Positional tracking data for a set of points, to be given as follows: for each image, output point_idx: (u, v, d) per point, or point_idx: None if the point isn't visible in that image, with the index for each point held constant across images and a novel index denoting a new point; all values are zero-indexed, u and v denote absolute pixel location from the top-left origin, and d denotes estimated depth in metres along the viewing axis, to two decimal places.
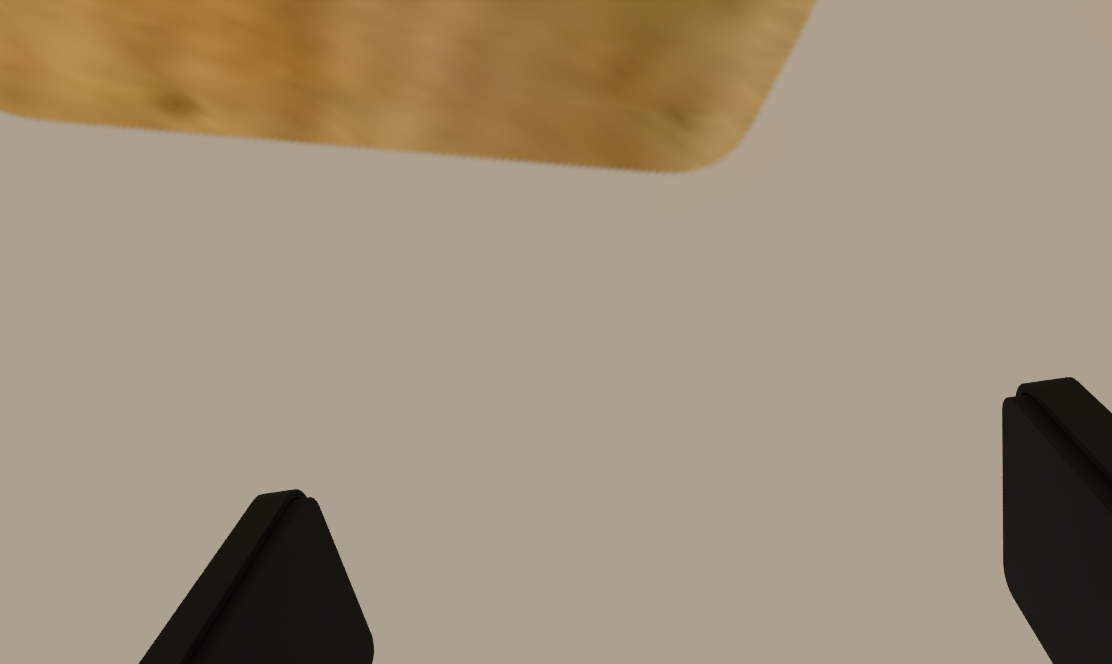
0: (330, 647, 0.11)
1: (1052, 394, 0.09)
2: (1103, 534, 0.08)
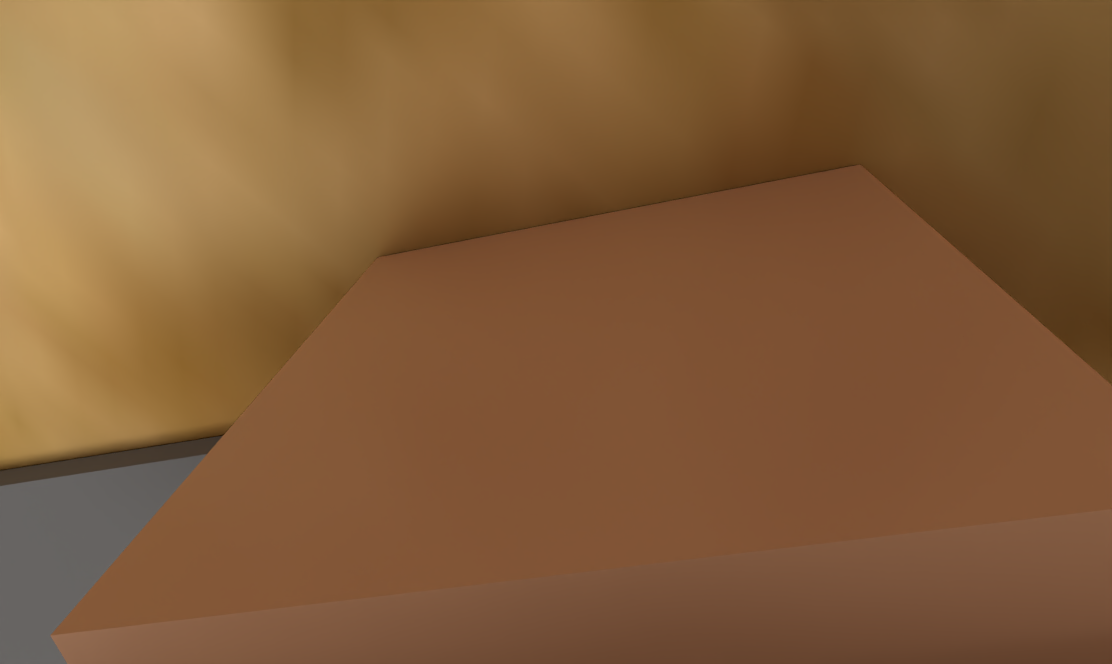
0: None
1: None
2: None
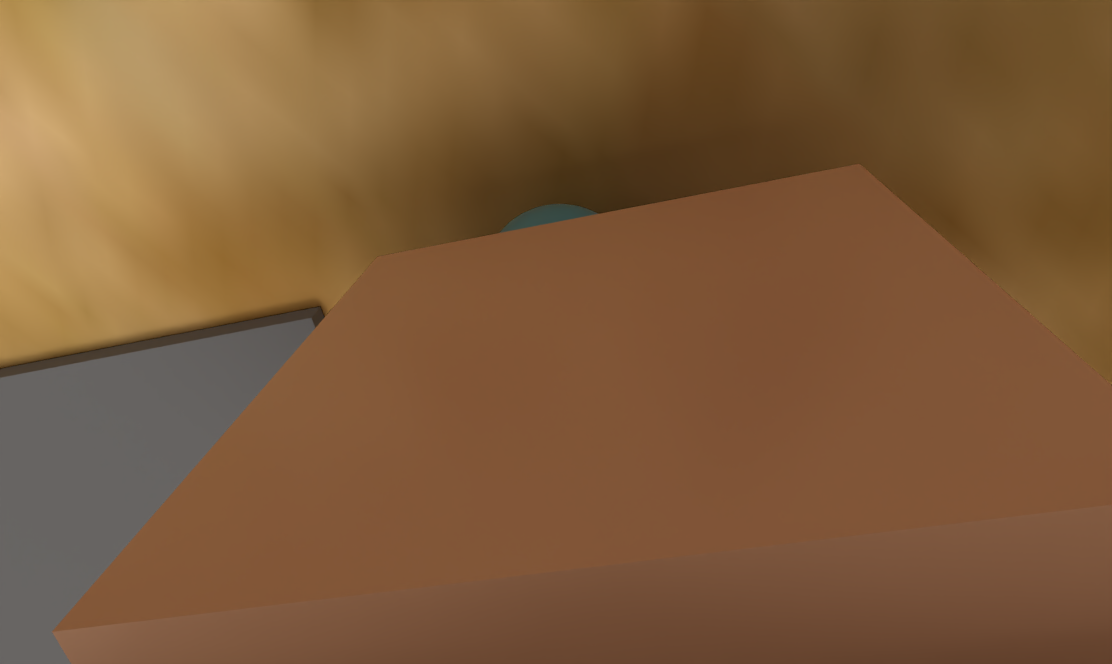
0: None
1: None
2: None
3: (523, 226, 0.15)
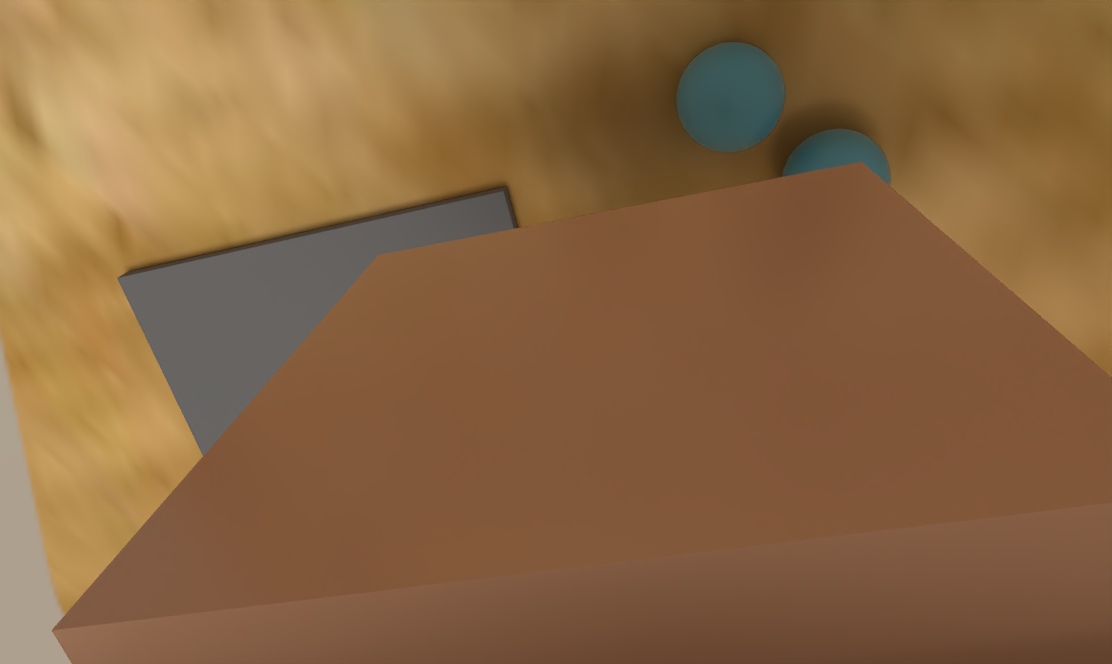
0: None
1: None
2: None
3: None
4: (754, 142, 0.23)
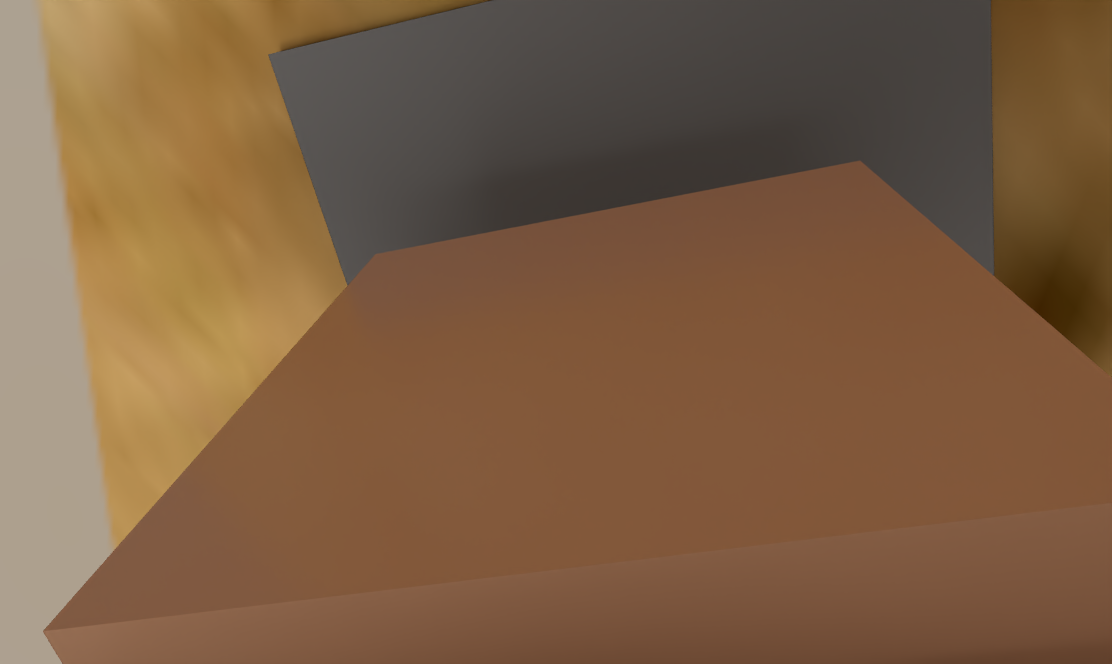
0: None
1: None
2: None
3: None
4: None
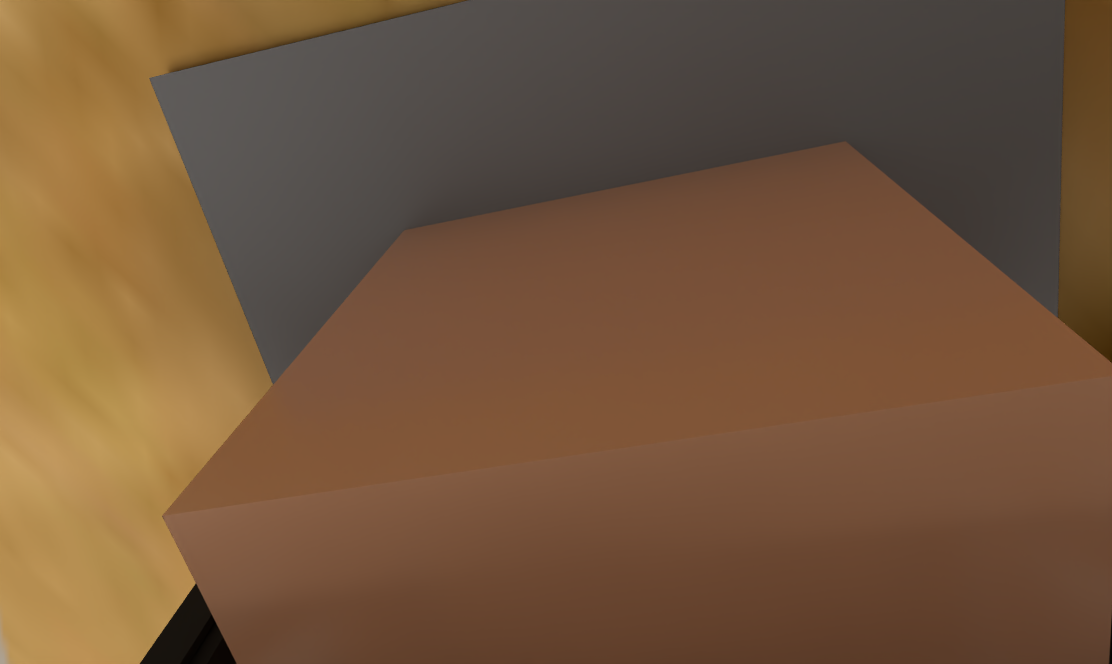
0: None
1: None
2: None
3: None
4: None
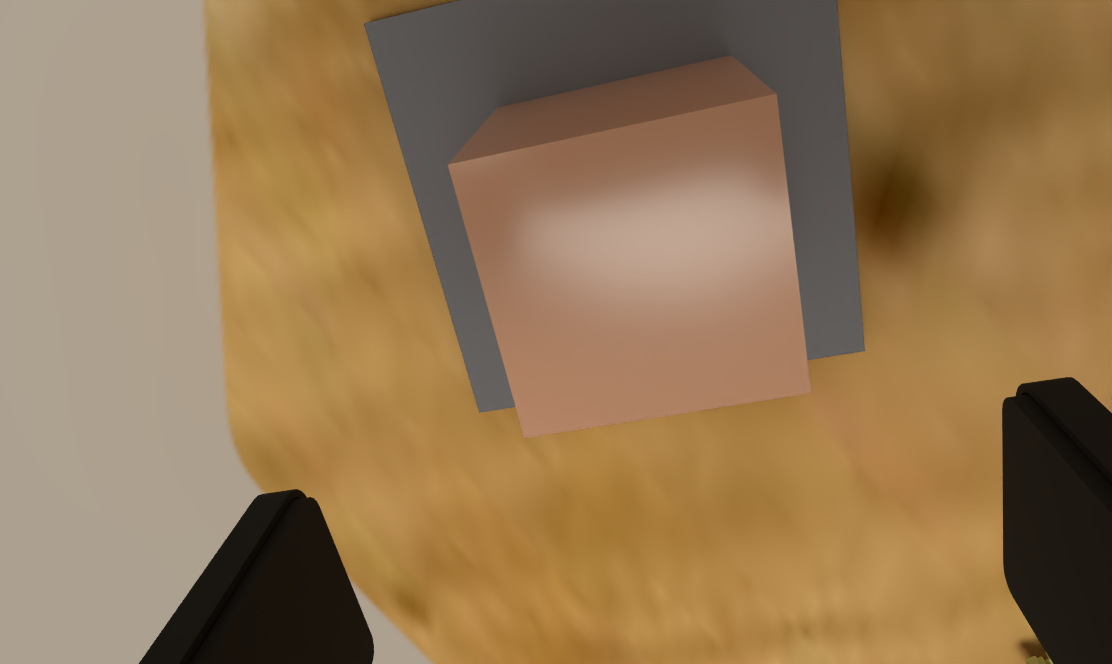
0: (330, 647, 0.11)
1: (1052, 394, 0.09)
2: (1103, 534, 0.08)
3: None
4: None
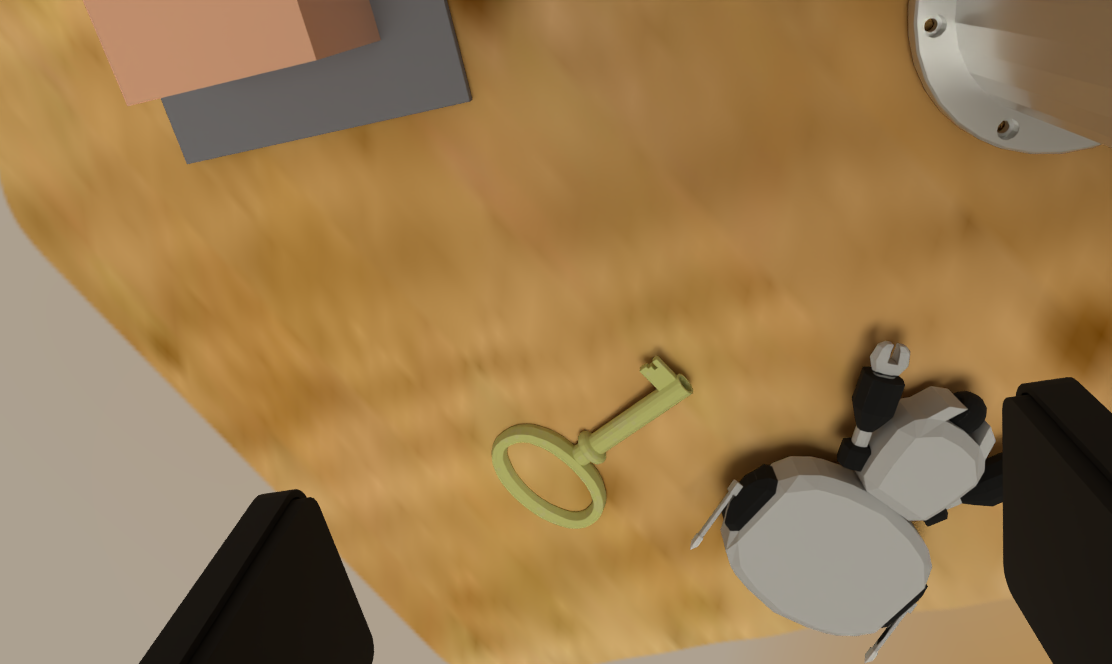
0: (330, 647, 0.11)
1: (1052, 394, 0.09)
2: (1103, 534, 0.08)
3: None
4: None
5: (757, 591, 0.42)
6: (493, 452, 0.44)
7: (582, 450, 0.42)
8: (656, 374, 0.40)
